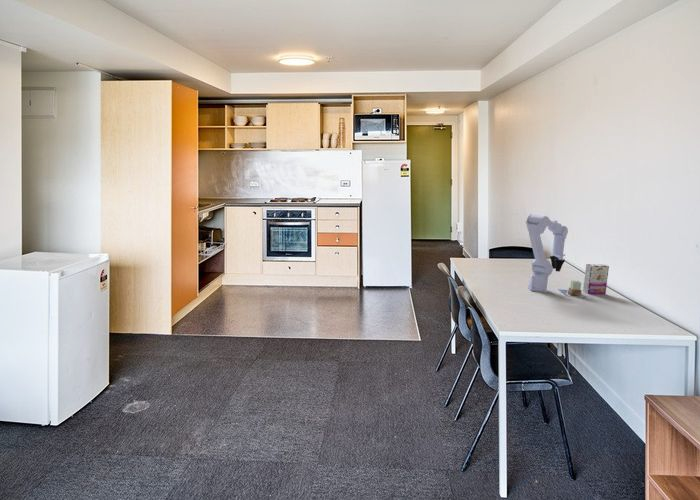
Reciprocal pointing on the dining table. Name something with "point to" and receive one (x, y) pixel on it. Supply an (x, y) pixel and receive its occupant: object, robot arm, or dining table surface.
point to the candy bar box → (595, 279)
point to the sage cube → (575, 285)
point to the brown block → (574, 292)
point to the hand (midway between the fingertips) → (555, 269)
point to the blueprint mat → (568, 294)
